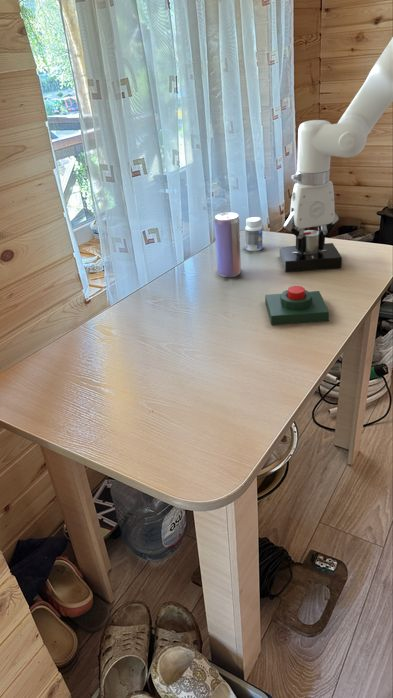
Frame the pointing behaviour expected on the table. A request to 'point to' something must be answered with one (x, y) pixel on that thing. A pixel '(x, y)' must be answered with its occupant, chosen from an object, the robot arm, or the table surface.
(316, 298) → the button block
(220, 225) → the beverage can
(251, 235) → the pill bottle
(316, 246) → the knob
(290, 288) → the button
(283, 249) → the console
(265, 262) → the table surface
